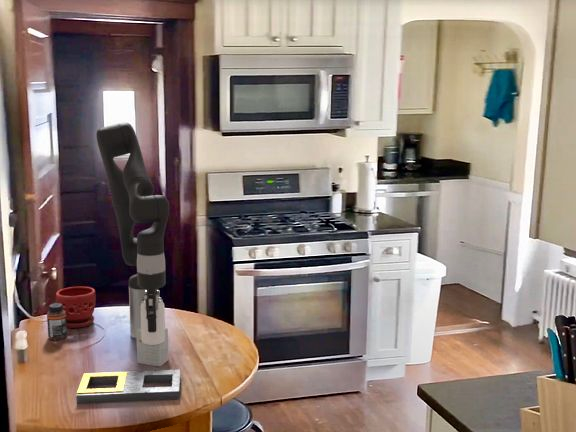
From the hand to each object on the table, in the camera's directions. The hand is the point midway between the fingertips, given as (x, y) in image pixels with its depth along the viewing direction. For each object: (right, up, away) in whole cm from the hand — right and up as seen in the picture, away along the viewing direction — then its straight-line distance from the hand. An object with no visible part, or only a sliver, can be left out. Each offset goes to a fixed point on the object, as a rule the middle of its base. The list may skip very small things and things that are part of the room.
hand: (152, 326), depth 193 cm
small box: (-4, -14, +22) cm, 27 cm away
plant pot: (-37, -7, +53) cm, 65 cm away
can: (0, -4, +1) cm, 4 cm away
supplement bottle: (-39, -10, +40) cm, 57 cm away
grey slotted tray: (-7, -18, +3) cm, 19 cm away
